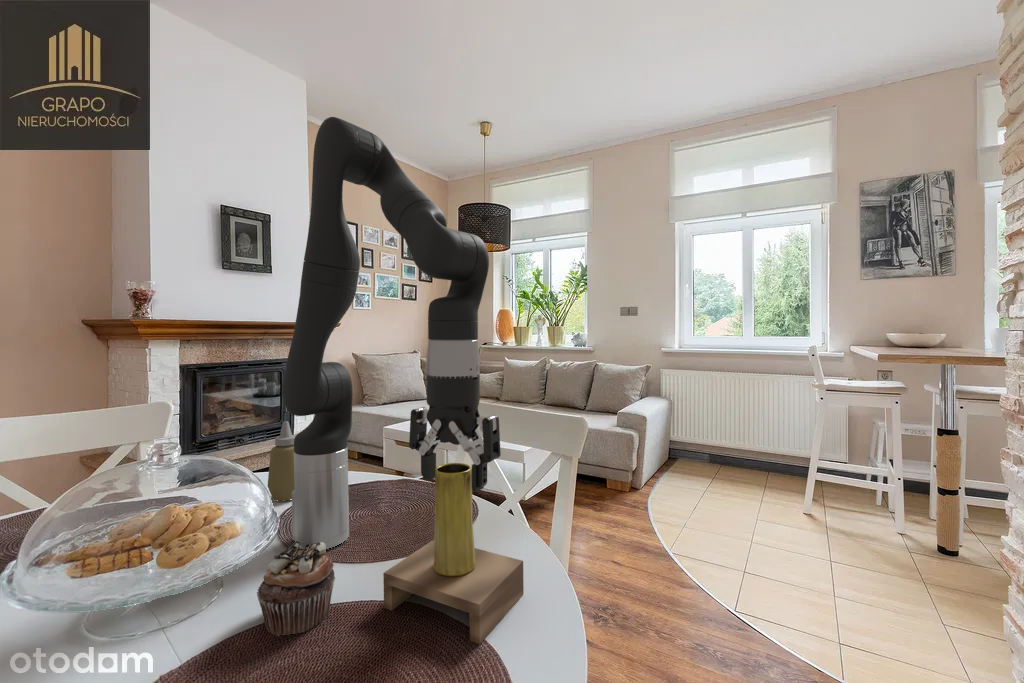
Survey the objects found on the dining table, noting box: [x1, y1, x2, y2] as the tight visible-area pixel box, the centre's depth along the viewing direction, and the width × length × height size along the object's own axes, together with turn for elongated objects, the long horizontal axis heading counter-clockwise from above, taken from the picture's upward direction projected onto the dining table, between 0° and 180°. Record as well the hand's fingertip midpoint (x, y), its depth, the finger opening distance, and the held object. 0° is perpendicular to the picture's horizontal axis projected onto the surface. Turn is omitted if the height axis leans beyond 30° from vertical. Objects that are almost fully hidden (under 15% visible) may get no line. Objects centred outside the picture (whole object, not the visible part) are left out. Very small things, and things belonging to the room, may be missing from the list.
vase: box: [433, 462, 476, 577], centre depth 65 cm, size 6×6×14 cm
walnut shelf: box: [382, 539, 525, 645], centre depth 65 cm, size 16×12×5 cm
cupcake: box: [256, 541, 336, 637], centre depth 62 cm, size 10×10×10 cm
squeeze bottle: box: [267, 420, 296, 502], centre depth 106 cm, size 8×8×18 cm
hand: (453, 484), depth 65 cm, fingers open, 8 cm apart
